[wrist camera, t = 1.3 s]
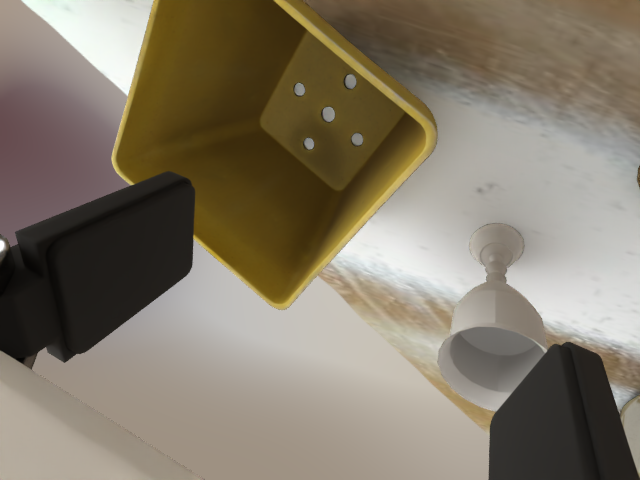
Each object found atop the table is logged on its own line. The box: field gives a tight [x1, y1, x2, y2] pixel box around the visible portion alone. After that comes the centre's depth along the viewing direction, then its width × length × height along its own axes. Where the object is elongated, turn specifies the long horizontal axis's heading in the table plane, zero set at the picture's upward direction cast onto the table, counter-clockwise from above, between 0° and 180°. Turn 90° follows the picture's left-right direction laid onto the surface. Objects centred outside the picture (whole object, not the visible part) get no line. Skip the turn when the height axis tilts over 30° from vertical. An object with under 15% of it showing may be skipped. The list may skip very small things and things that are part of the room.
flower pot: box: [112, 0, 438, 310], centre depth 32 cm, size 19×19×17 cm
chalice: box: [438, 223, 548, 412], centre depth 31 cm, size 7×7×18 cm
